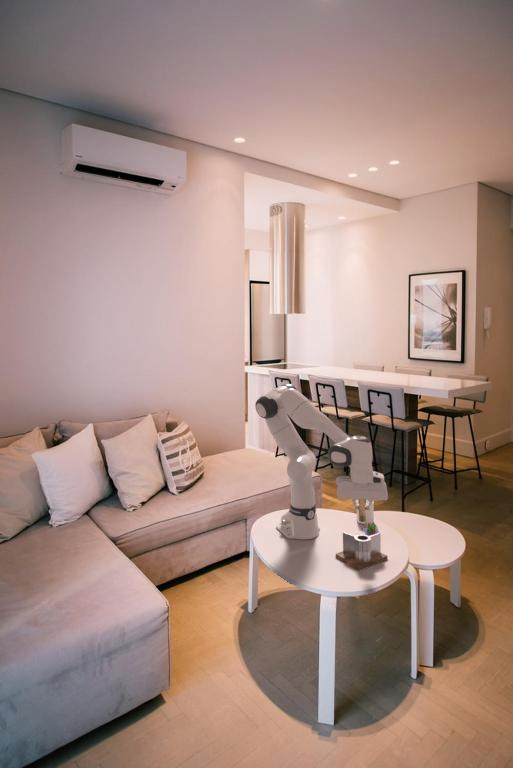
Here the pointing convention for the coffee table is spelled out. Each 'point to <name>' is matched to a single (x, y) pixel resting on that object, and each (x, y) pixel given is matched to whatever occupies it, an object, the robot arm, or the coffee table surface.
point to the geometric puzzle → (370, 529)
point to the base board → (358, 565)
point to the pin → (362, 510)
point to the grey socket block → (361, 546)
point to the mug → (367, 513)
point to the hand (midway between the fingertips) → (362, 509)
